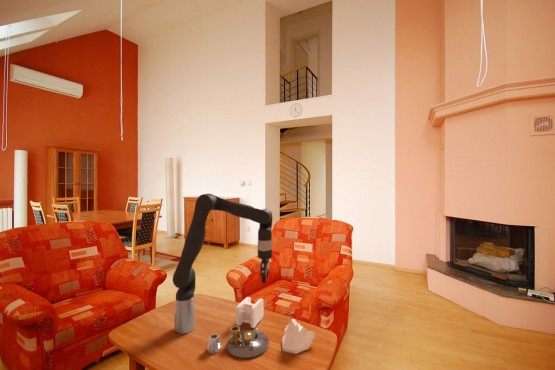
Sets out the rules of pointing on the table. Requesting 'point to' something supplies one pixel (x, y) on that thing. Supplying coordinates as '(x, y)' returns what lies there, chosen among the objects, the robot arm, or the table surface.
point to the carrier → (249, 345)
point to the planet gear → (214, 344)
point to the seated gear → (235, 335)
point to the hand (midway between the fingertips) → (265, 279)
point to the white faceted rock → (296, 338)
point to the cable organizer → (249, 312)
